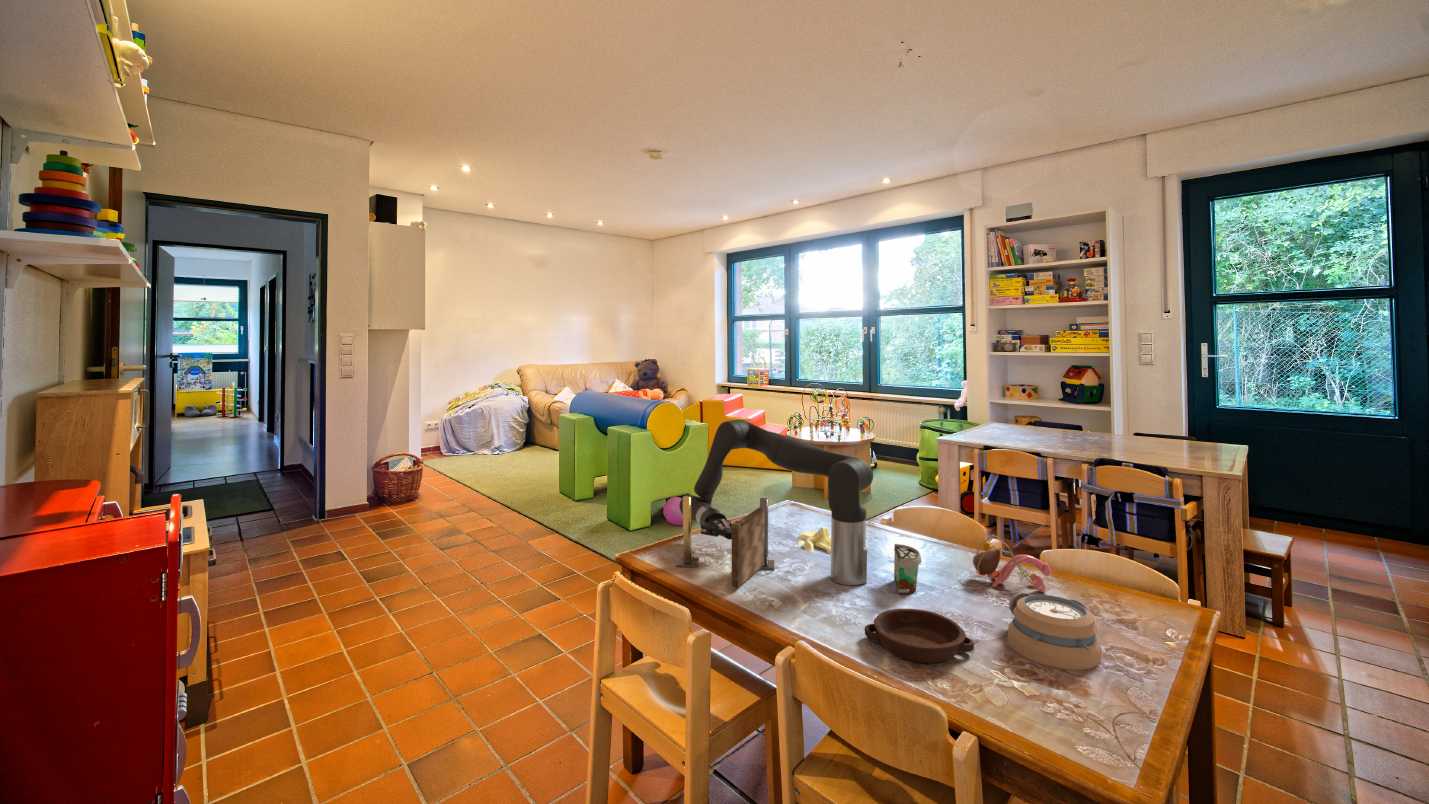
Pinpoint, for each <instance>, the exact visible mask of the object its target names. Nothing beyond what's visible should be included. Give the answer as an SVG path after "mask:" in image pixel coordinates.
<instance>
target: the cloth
mask: <svg viewBox="0 0 1429 804" xmlns="http://www.w3.org/2000/svg"><path fill="white" fill-rule="evenodd" d="M830 534H831V533H830V531H829V529H828V527H824V526H823V527H820V528H819V529H818V531H816V530H811V531H807V532H803V533H799V535H798V536H797V539H802V540H805V541H802V540H798V542H797V543H796V545H797V546H798V547H799V546H803V547H802V548H803V549H804V551H806V552H808V553H814V551H815V549H814V547H817V548H821V549H823V550H825V551H826V553H827V554H829V555H831V536H830Z"/></svg>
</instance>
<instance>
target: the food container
mask: <svg viewBox="0 0 1429 804" xmlns="http://www.w3.org/2000/svg"><path fill="white" fill-rule="evenodd" d="M893 551H894V562H893V563H894V569H893V570H894V572H893V582H894V585H895V588H896V589H895V590H896V593H897V596H910V595H913V594H915V593H916V591H917V582H918V574H919V566H920V565H921V564H922V557H921V553H920V552H919V550H918V549H917V548H915V547H913V546H910V545H906V544H899V543H894V550H893Z"/></svg>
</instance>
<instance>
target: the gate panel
mask: <svg viewBox="0 0 1429 804" xmlns="http://www.w3.org/2000/svg"><path fill="white" fill-rule="evenodd" d="M736 521H737V522H735V521H732V522H731V523H732V524H731V532H732V539H731V587H733V588H737V589H739V588H740V587H742V585H743V584H744V583H745V582H746V581H747V580H749V578H751V577H752V576H753V575H754V574H755V573H756V572H758V571H759V570H761V569H760V568H761V567H762V566H763V565H764V509H763V508H762V507H760V506H759V507H757V508H756V509H754V510H753V511H751V512H750V513H748V514H747V515H745V516H743V517H742V518H741V519H739V520H736Z"/></svg>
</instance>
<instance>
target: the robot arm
mask: <svg viewBox="0 0 1429 804" xmlns="http://www.w3.org/2000/svg"><path fill="white" fill-rule="evenodd" d="M737 449H749V450H753V451H757V452H759V453H762V454H763V455H764V456H765V457H766V459H768V460H769V461H770V462H771V463H773V465H776V466H778V467H780V468H783V469H785V470H788V471H791V472H795V473H800V474H808V475H809V474H810V475H817V476H824V477H827V492H828V493H827V496H828V507H829V509H830V513H831V514H830V515H831V518H830V519H831V521H830V522H831V523H830V524H831V525H830V527H831V528H830V529H831V530H830V534H831V536H830V537H831V554H830V580H831V581H832V582H835V583H836V584H840V585H843V586H859V585H862V584H867V582H868V581H867V580H868V579H867V577H868V575H867V573H868V548H867V545H866V541H867V509H866V508H865V507H864V506H863V505H861V504H860V492H862V491H864V490H866V489H867V488H868V487H869V486H870V485H871V484H872V482H873V480H874V473H873V470H872V467H871V466H870V465H869V464H868V463H867V462H866V461H865V460H864V459H861V458H858V457H856V456H855V457H854V456H850V455H845V454H840V453H836V452H833V451H829V450H827V449H824V448H821V447H819V446H816V445H813V444H811V443H807V442H805V441H802V440H799V439H796V438H794V437H790V436H787V435H783V434H781V433H777V432H773V431H770V430H769V431H768V430H766V429H764V428H761V427H759V426H757V425H755V424H753V423H752V422H749V421H748V420H744V419H733V420H726V421H723V422H721V423H720V424H719V426H718V427H717V429H716V431H715V434H714V437H713V441H712V442H711V447H710V449H709V453H708V455H707V456H708V457H707V459H706V462H705V464H704V466H703V469H702V471H701V473H700V475H699V477H698V478H697V480H696V482H695V484H694V485H693V487H694V488H693V490H694V493H695V495H693V494H686V495H684V496H690V497H691V520H693V521H695V522H696V523H697V524H698V525H699V526H700V534H701V535H705V536H711V537H715V538H718V537H719V536H720V537H723V538H724V539H726V540H732V532H731V524H732V523H733V522H732V521H731V520H730V519H729V520H728V519H727V517H726V515H725V514H724V513H723V512H721V511H720V510H719V509H717V508H716V507H715V506H713V505H712V502H713V497H714V495H715V493H716V491H717V489H718V487H719V485H720V484H721V481H722V478H723V473H724V472H723V465H724V461H725V459H726V458H727V456H728V455H729V454H730V452H731V451H732V450H737ZM679 511H680V512H681V514H682V515H683V497H682V498H681V499H680V501H679ZM737 521H738V520H735V521H734V522H737Z"/></svg>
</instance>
